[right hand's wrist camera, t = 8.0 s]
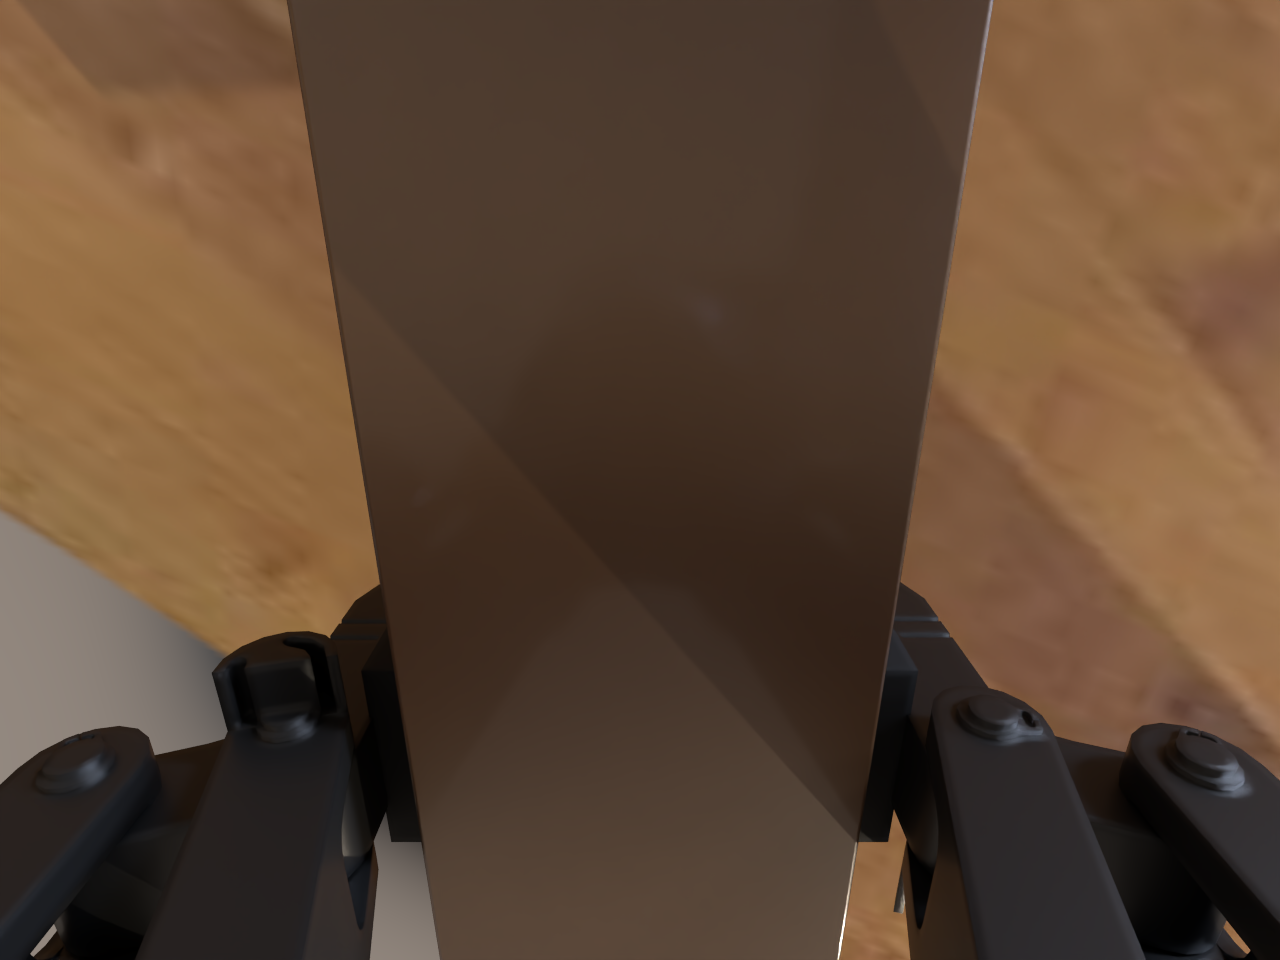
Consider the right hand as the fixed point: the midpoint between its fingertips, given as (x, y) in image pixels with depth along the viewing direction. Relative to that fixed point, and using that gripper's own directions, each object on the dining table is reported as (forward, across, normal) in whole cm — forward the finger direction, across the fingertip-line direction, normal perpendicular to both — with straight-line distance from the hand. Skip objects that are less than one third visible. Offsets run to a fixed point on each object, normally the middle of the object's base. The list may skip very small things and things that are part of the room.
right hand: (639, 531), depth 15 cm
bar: (+1, 0, -21) cm, 21 cm away
